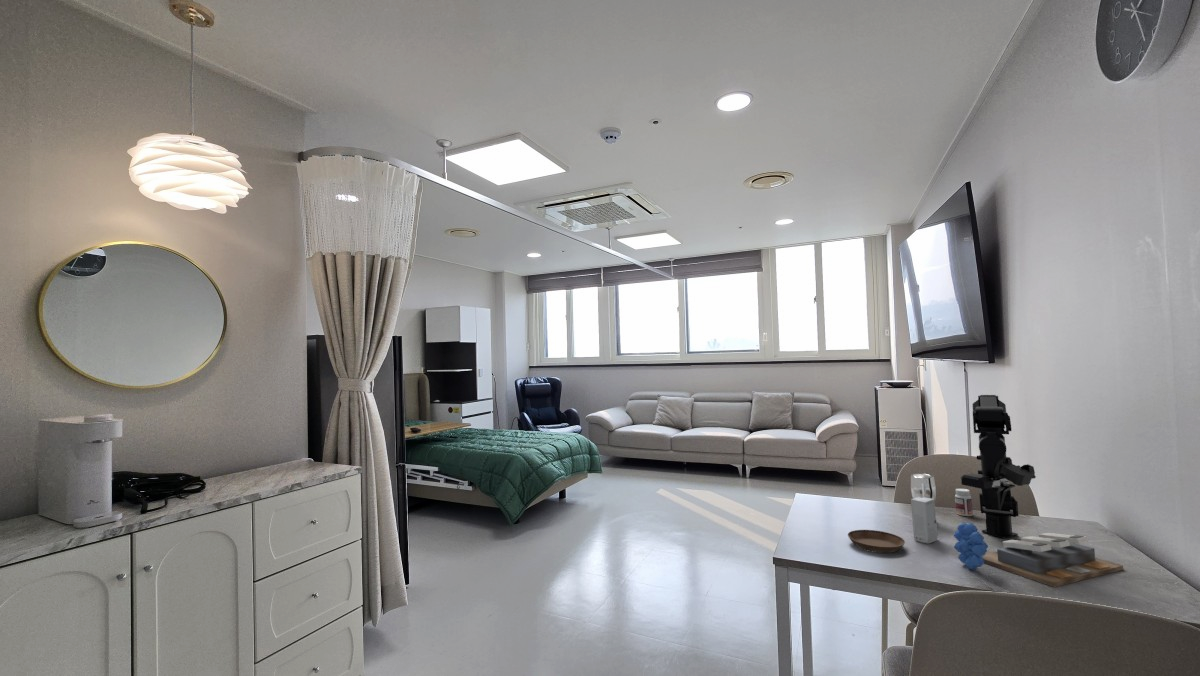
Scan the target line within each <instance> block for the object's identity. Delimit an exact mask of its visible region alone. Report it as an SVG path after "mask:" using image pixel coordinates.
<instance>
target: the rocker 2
mask: <svg viewBox="0 0 1200 676" xmlns="http://www.w3.org/2000/svg"><path fill="white" fill-rule="evenodd" d="M1038 537H1042V538H1050V539H1063V540H1067V541H1069V543H1076V544H1080V545H1081V544H1084V543H1088V542H1089V539H1088V537H1087V536H1085V535H1077V534H1075V535H1072V534H1063V533H1054V532H1044V533H1039V534H1038Z"/></svg>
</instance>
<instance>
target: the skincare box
mask: <svg viewBox="0 0 1200 676" xmlns="http://www.w3.org/2000/svg"><path fill="white" fill-rule="evenodd" d="M935 505H936V503H935V504H934V499H931V498H925V497H918V498H914V499H913V498H911V499H910V507H911V509H910V510H911V520H912V530H913V540H914V541H915V542H919V543H924V544H931V543H934V542H936V541H938V539H939V536H938V527H937V524H938V523H937V517H936V516H937V515H936V507H935Z"/></svg>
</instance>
